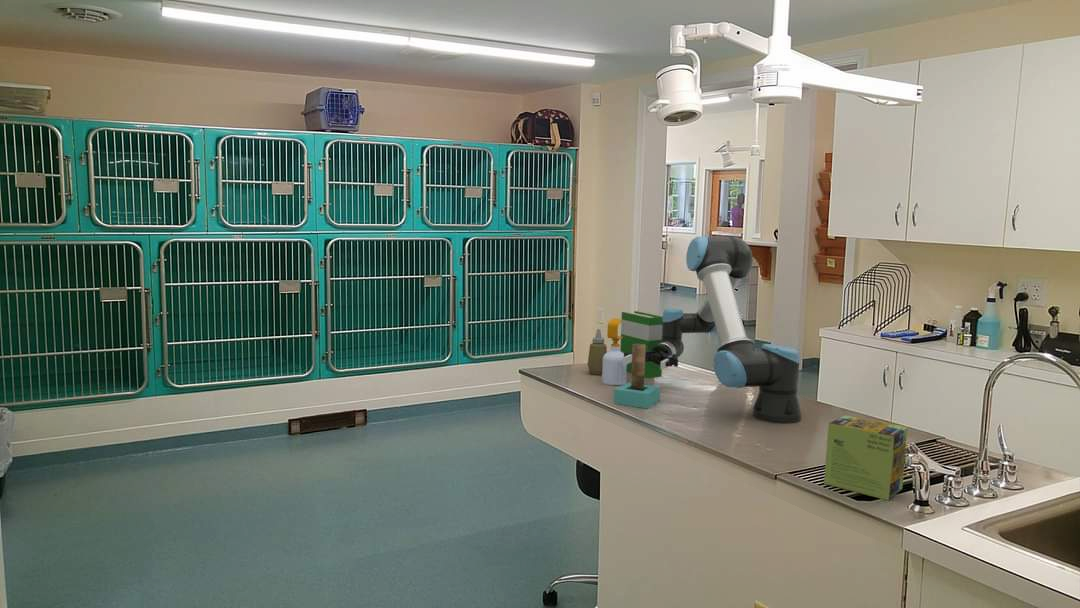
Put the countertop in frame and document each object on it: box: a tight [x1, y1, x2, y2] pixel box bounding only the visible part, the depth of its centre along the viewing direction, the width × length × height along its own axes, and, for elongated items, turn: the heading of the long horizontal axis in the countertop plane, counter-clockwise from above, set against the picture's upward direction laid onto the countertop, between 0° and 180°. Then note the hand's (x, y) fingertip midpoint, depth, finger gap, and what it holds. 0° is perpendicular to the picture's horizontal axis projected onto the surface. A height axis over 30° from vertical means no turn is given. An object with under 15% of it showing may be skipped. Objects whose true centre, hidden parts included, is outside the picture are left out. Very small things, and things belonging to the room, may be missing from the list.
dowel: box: [630, 344, 646, 391], centre depth 254 cm, size 4×4×20 cm
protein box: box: [823, 415, 908, 501], centre depth 180 cm, size 10×15×16 cm
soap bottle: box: [601, 317, 628, 386], centre depth 281 cm, size 9×9×25 cm
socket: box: [613, 382, 661, 409], centre depth 255 cm, size 12×12×5 cm
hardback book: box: [620, 310, 663, 379], centre depth 300 cm, size 18×7×24 cm, turn 31°
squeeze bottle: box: [587, 328, 608, 376], centre depth 297 cm, size 8×8×18 cm
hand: (642, 363), depth 258 cm, fingers open, 13 cm apart
